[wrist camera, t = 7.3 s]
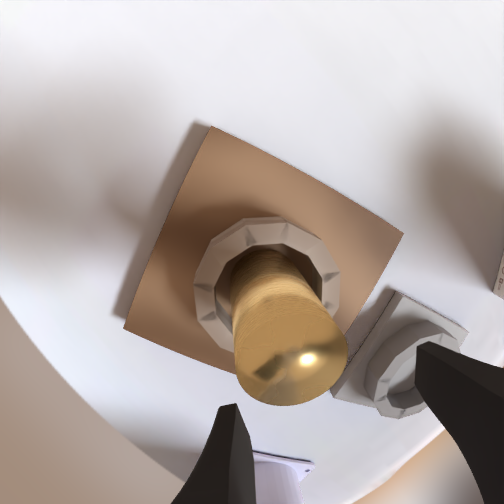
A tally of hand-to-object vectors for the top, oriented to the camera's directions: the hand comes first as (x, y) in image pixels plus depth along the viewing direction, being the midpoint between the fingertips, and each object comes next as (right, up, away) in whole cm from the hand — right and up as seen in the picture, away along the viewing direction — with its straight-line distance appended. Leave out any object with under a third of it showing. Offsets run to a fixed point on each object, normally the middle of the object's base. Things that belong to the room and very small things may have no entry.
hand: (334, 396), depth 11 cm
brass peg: (-2, +4, +7) cm, 9 cm away
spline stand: (+9, -3, +11) cm, 15 cm away
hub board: (-2, +4, +8) cm, 10 cm away
